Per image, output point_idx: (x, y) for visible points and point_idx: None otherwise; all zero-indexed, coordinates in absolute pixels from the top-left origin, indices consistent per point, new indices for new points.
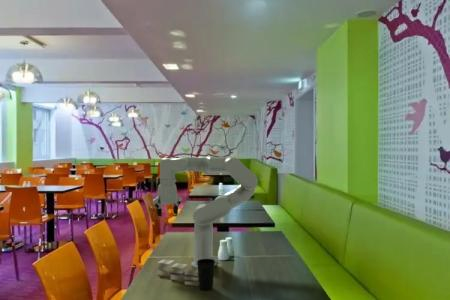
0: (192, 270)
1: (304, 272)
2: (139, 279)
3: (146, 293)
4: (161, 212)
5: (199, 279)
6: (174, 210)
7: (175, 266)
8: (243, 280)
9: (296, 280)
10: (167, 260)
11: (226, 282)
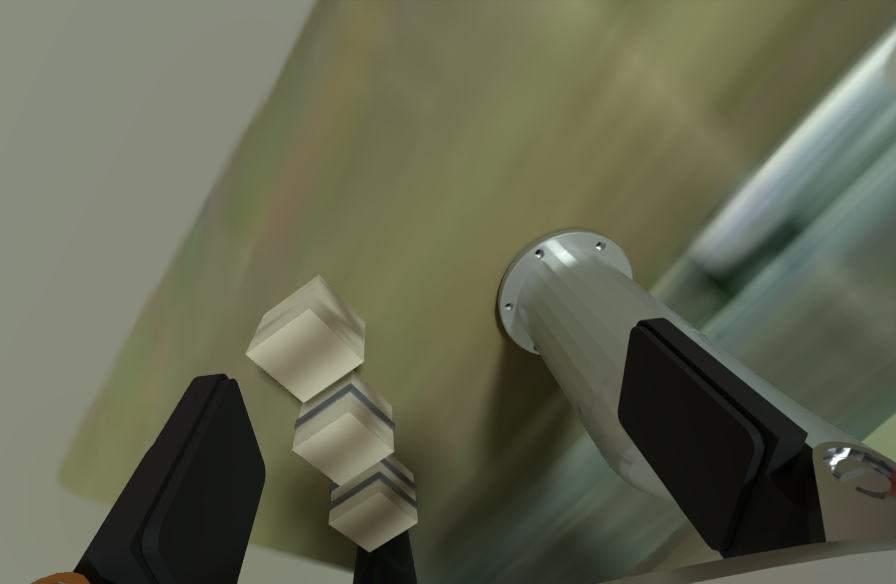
0: (366, 526)
1: None
2: (142, 334)
3: None
4: (242, 548)
5: (354, 571)
6: (669, 409)
7: (319, 454)
8: (544, 514)
9: None
10: (326, 342)
11: (483, 510)
